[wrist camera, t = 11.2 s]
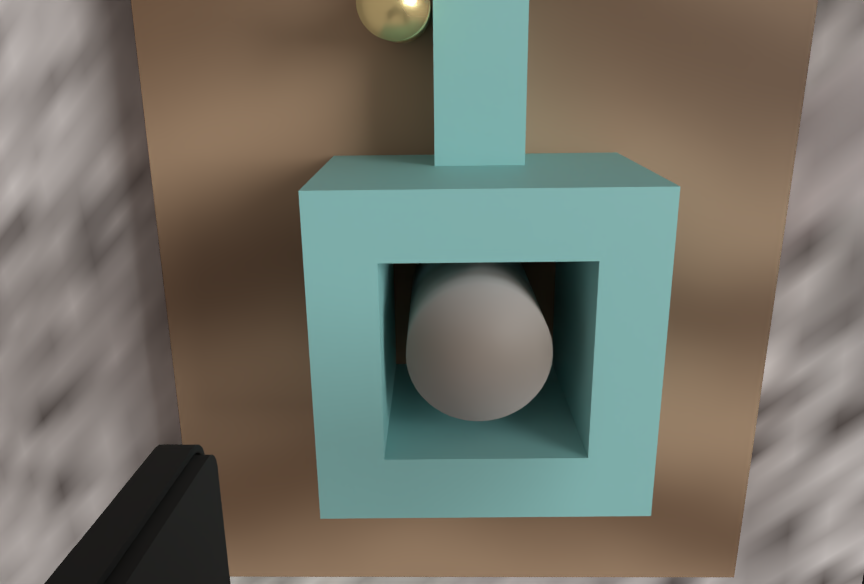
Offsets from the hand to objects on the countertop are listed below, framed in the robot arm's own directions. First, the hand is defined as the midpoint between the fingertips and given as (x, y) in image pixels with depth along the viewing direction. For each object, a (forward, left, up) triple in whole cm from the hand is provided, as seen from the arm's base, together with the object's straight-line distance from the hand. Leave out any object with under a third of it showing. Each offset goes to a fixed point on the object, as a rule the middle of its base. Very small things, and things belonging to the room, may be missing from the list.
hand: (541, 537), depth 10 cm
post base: (+1, +1, -11) cm, 11 cm away
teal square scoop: (+4, +1, -10) cm, 10 cm away
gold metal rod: (+7, +2, -10) cm, 12 cm away
